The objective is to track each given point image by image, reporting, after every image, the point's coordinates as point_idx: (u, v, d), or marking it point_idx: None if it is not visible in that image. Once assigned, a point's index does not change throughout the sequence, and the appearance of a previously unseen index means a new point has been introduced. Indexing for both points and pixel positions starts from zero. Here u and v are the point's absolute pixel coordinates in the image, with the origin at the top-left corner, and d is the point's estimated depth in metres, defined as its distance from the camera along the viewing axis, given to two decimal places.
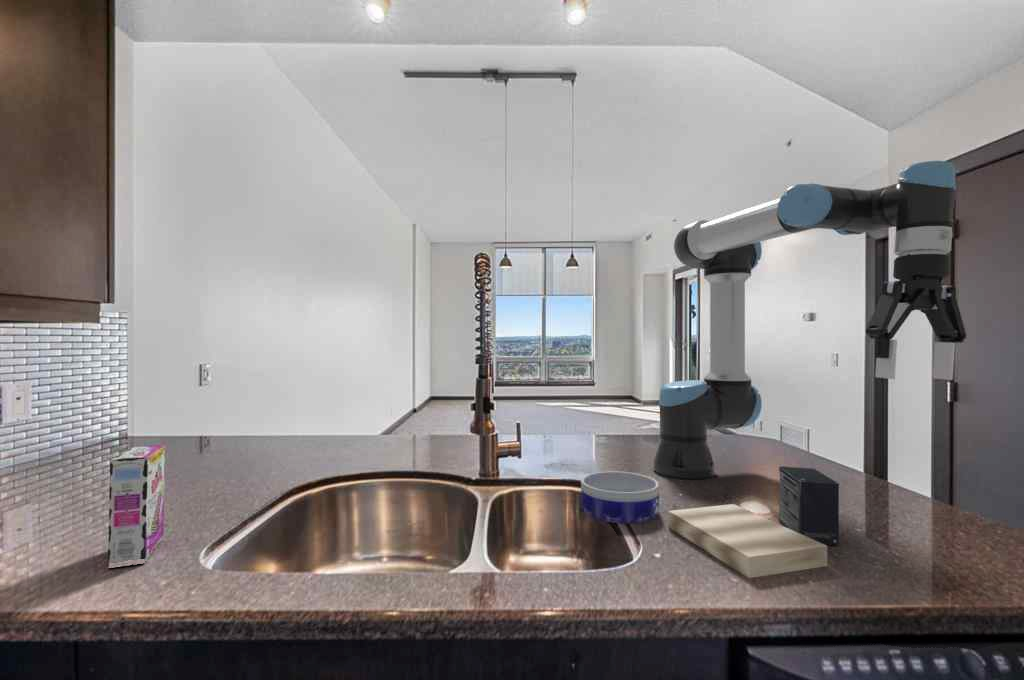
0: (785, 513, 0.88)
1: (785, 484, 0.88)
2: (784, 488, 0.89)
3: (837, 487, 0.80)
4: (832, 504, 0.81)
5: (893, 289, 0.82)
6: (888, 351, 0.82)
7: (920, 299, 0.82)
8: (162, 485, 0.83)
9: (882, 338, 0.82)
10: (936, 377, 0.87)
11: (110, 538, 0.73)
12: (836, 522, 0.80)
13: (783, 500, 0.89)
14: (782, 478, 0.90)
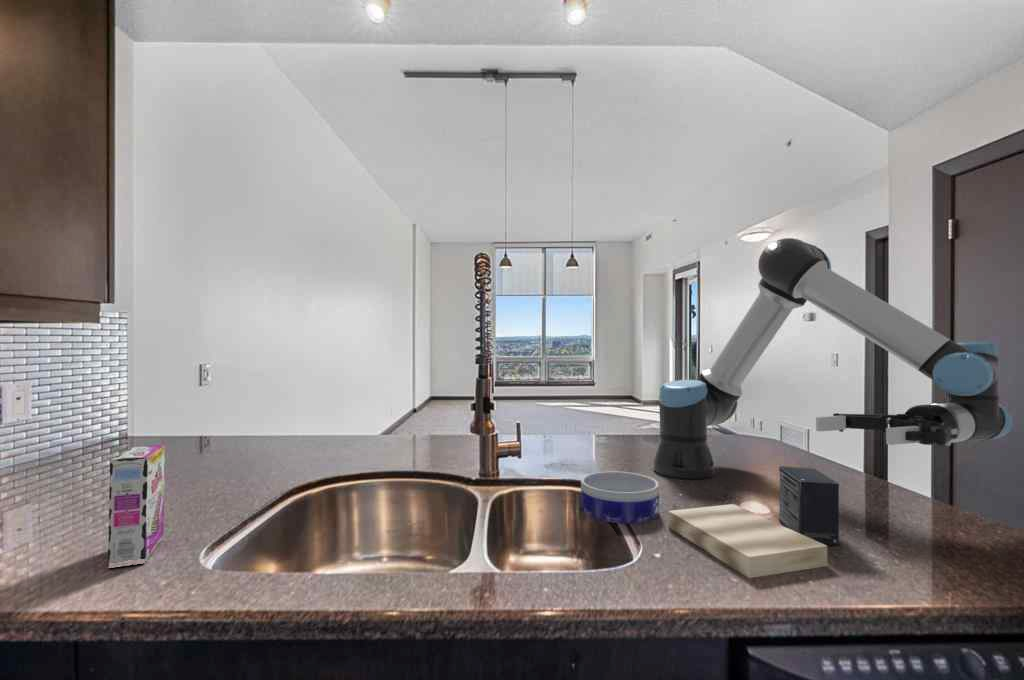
0: (785, 513, 0.88)
1: (785, 484, 0.88)
2: (784, 488, 0.89)
3: (837, 487, 0.80)
4: (832, 504, 0.81)
5: (953, 435, 0.86)
6: None
7: None
8: (162, 485, 0.83)
9: (928, 438, 0.82)
10: (820, 420, 0.95)
11: (110, 538, 0.73)
12: (836, 522, 0.80)
13: (783, 500, 0.89)
14: (782, 478, 0.90)
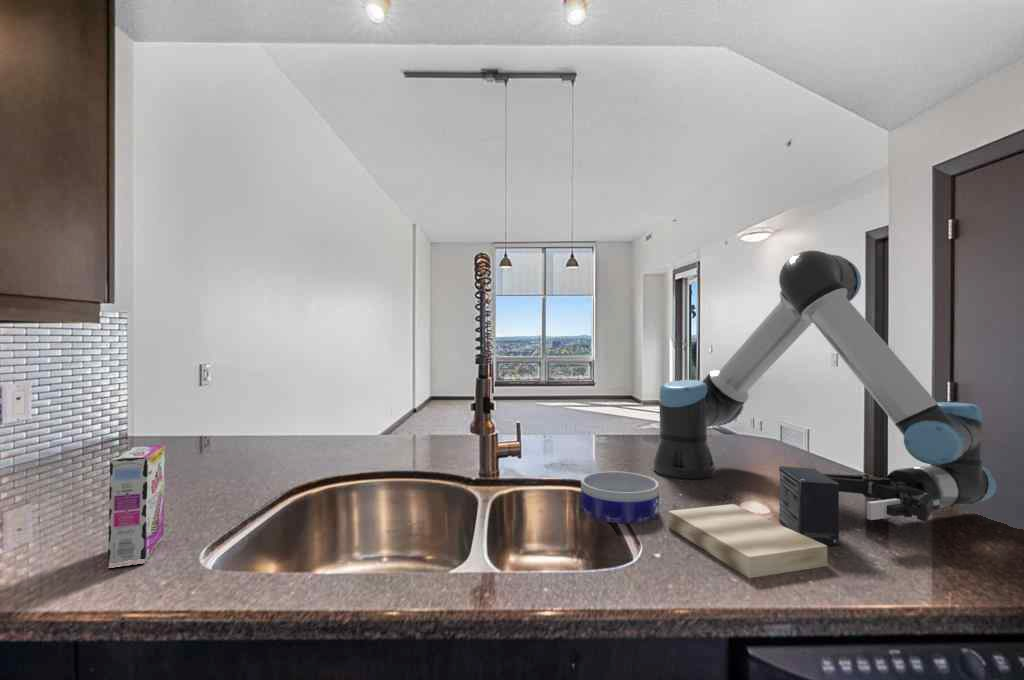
0: (785, 513, 0.88)
1: (785, 484, 0.88)
2: (784, 488, 0.89)
3: (837, 487, 0.80)
4: (832, 504, 0.81)
5: (935, 506, 0.84)
6: None
7: None
8: (162, 485, 0.83)
9: (909, 513, 0.80)
10: None
11: (110, 538, 0.73)
12: (836, 522, 0.80)
13: (783, 500, 0.89)
14: (782, 478, 0.90)
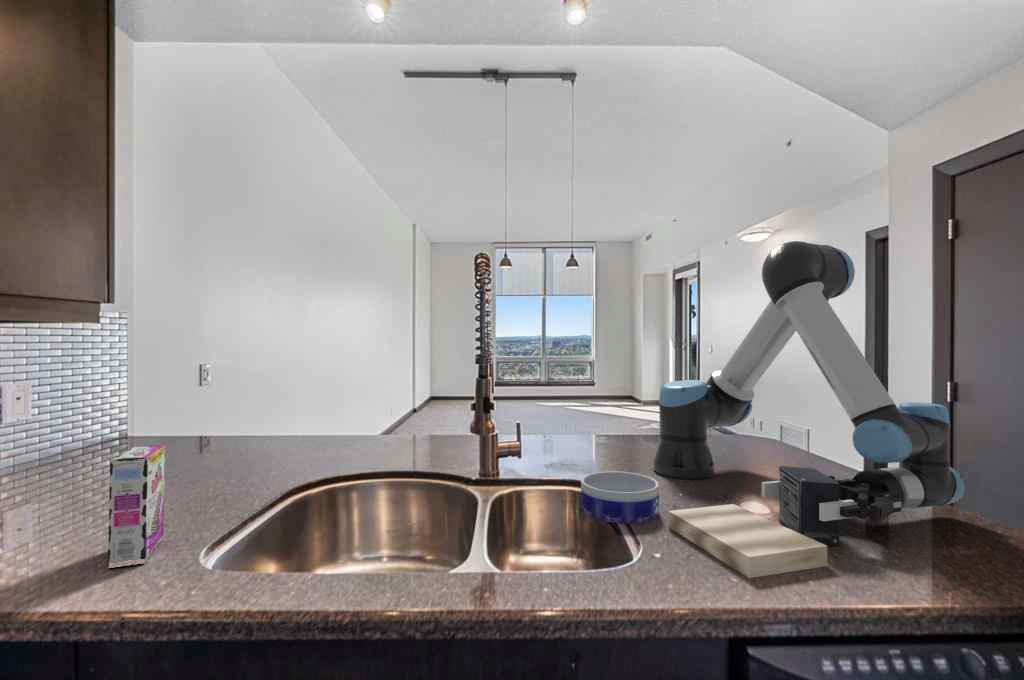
0: (785, 513, 0.88)
1: (785, 483, 0.88)
2: (784, 488, 0.89)
3: (837, 487, 0.80)
4: None
5: (896, 508, 0.82)
6: None
7: None
8: (162, 485, 0.83)
9: (863, 514, 0.79)
10: (765, 486, 0.91)
11: (110, 538, 0.73)
12: (836, 522, 0.80)
13: (783, 500, 0.89)
14: (782, 478, 0.90)
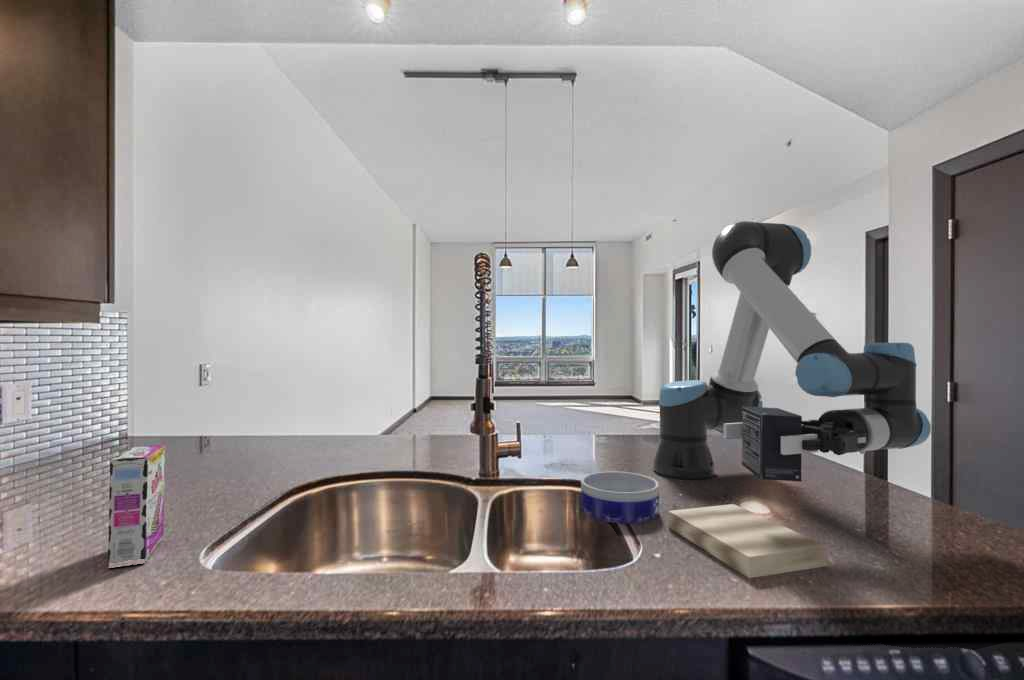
0: (747, 453, 0.83)
1: (747, 423, 0.84)
2: (746, 428, 0.84)
3: (800, 420, 0.76)
4: None
5: (860, 444, 0.78)
6: None
7: None
8: (162, 485, 0.83)
9: (826, 448, 0.75)
10: (727, 427, 0.86)
11: (110, 538, 0.73)
12: (799, 457, 0.76)
13: (745, 440, 0.85)
14: (745, 418, 0.85)
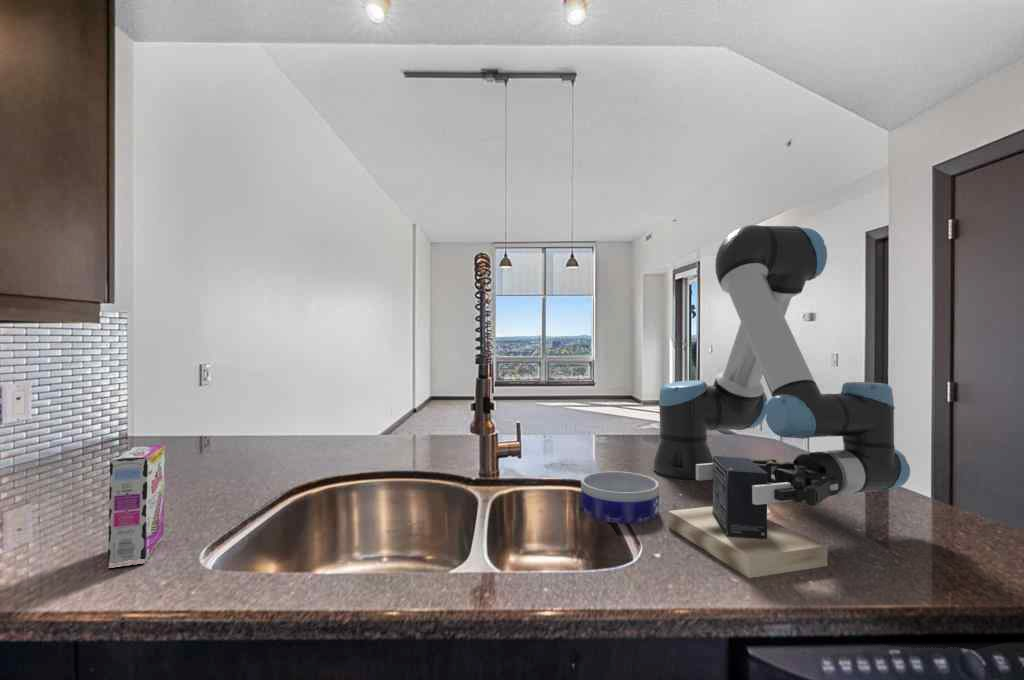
0: (716, 505, 0.83)
1: (716, 474, 0.84)
2: (715, 479, 0.84)
3: (765, 476, 0.76)
4: None
5: (833, 491, 0.77)
6: None
7: None
8: (162, 485, 0.83)
9: (799, 497, 0.74)
10: (699, 468, 0.86)
11: (110, 538, 0.73)
12: (764, 514, 0.76)
13: (715, 491, 0.84)
14: (714, 468, 0.85)
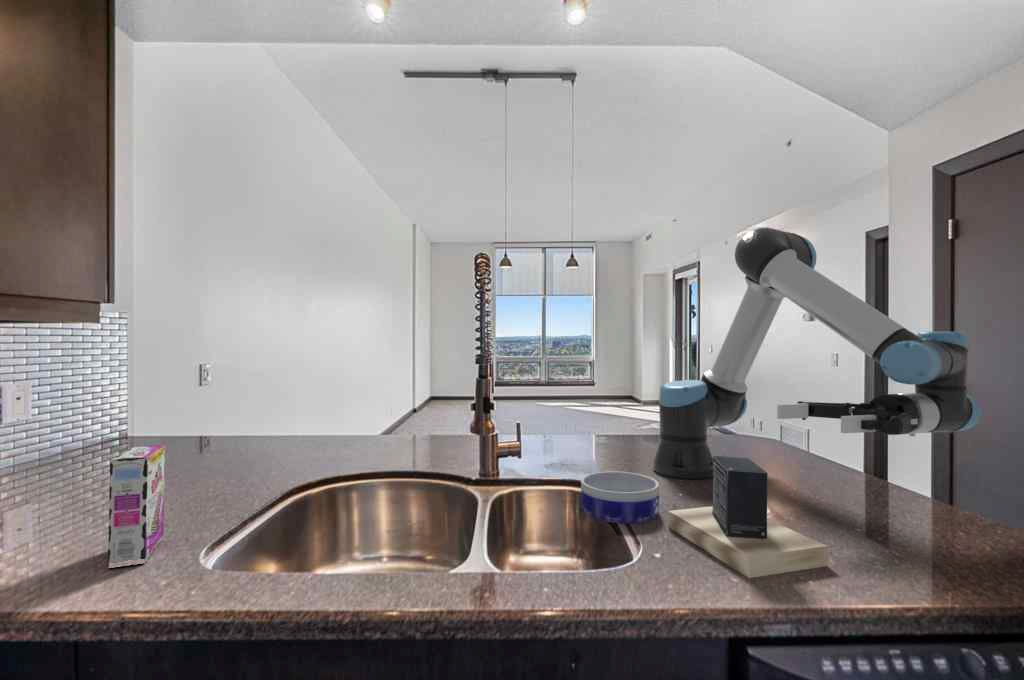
0: (716, 505, 0.83)
1: (716, 474, 0.84)
2: (715, 479, 0.84)
3: (765, 476, 0.76)
4: (760, 495, 0.76)
5: (913, 425, 0.84)
6: None
7: None
8: (162, 485, 0.83)
9: (884, 428, 0.80)
10: (781, 408, 0.93)
11: (110, 538, 0.73)
12: (764, 514, 0.76)
13: (715, 491, 0.84)
14: (714, 468, 0.85)
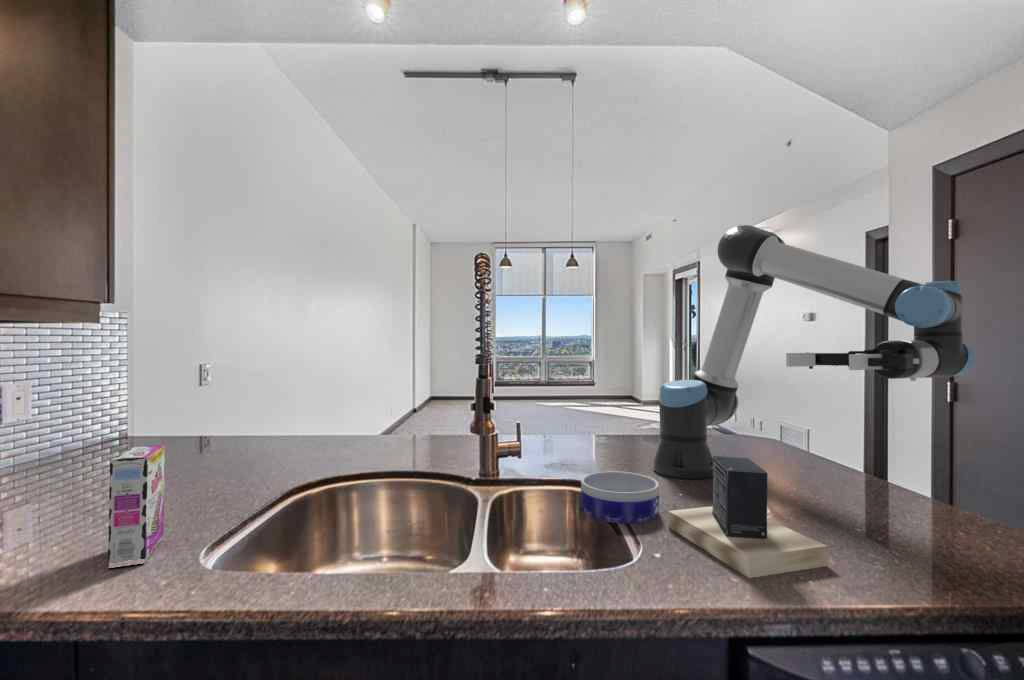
0: (716, 505, 0.83)
1: (716, 474, 0.84)
2: (715, 479, 0.84)
3: (765, 476, 0.76)
4: (760, 494, 0.76)
5: (915, 364, 0.89)
6: (874, 366, 0.86)
7: None
8: (162, 485, 0.83)
9: (889, 364, 0.85)
10: (790, 356, 0.98)
11: (110, 538, 0.73)
12: (764, 514, 0.76)
13: (715, 491, 0.84)
14: (714, 468, 0.85)
